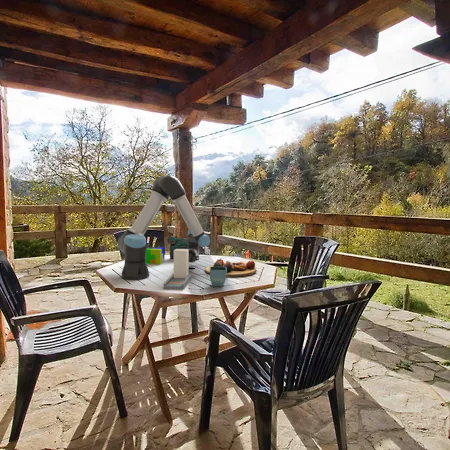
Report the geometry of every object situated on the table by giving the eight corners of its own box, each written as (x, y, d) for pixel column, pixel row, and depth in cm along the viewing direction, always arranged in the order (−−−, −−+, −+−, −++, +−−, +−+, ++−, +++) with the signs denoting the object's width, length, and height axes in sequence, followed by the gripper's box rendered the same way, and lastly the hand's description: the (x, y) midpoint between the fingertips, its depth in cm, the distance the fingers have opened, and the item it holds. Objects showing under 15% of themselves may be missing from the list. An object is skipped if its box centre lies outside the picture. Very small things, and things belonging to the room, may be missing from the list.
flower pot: (226, 283, 169) (226, 266, 169) (226, 287, 161) (226, 270, 160) (209, 282, 169) (209, 266, 168) (209, 287, 160) (209, 270, 160)
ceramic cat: (167, 259, 233) (167, 232, 231) (169, 257, 239) (169, 231, 237) (193, 260, 230) (193, 232, 229) (195, 258, 237) (195, 232, 235)
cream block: (173, 278, 171) (173, 250, 170) (176, 275, 177) (176, 248, 176) (186, 278, 171) (186, 250, 170) (188, 275, 177) (188, 249, 176)
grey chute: (163, 288, 157) (163, 283, 156) (174, 276, 180) (174, 272, 180) (183, 289, 156) (184, 284, 156) (192, 277, 180) (192, 272, 180)
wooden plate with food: (261, 268, 208) (261, 256, 207) (249, 279, 177) (249, 265, 177) (215, 265, 217) (215, 253, 217) (196, 275, 187) (196, 262, 187)
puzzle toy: (164, 261, 224) (164, 247, 223) (160, 264, 214) (160, 249, 213) (150, 261, 225) (150, 247, 224) (145, 263, 215) (145, 249, 214)
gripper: (200, 261, 202) (195, 269, 178) (180, 261, 203) (172, 269, 179) (200, 249, 201) (195, 256, 178) (180, 249, 202) (172, 256, 179)
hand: (183, 262), depth 179 cm, fingers closed
